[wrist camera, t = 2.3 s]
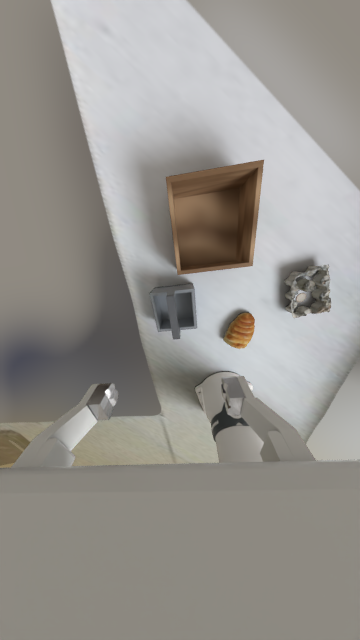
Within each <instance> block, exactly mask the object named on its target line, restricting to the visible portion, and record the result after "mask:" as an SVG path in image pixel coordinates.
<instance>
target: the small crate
mask: <svg viewBox="0 0 360 640" xmlns="http://www.w3.org/2000/svg"><path fill="white" fill-rule="evenodd" d="M150 298H151V303H152V307H153V312H154V316H155V321H156V325H157V330H158V332H162V331H172V335H173V339H180V330H184V329H195V328H197V319H196V305H195V291H194V286H193V283H192V284H184V285H175V286H166V287H158V288H154V289H153V290H152V291H151V292H150Z"/></svg>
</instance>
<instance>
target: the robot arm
mask: <svg viewBox="0 0 360 640" xmlns="http://www.w3.org/2000/svg"><path fill="white" fill-rule="evenodd" d="M252 389H253V386H252V384H251V383H249V382H247V381H246V379H245V377H244V376H239V375H238V374H235V373H231V372H220V373H216V374H213V375H211V376H209V377H208V378H207V379H205V381H204V382H203V383H202V384H200V385H198V386H196V387H195V391H196V394H197V396H198V398H199V401H200V403H201V406H202V408H203V411H204V413H205V414H206V415H207V418H208V419H209V421H210V423H211V428H212V434H213V438H214V441H215V442H216V446H217V452H218V458H219V463H189V464H146V465H103V466H72V464H73V462H74V459H75V455H74V454H73V453H72V452H71V450H72V449H73V448H74V447H75V446H76V445H77V443H78V442H79V441H80V440H81V439H82V438H83V437H84V436H85V435H86V433H87V432H88V431H89V430H90V429H91V428H92V427H93V426H94V425H95V424H96V422H97V421H98V420H109V419H110V417H111V414H112V412H113V406H114V405H115V404H116V402H117V400H118V391H117V390H116V389H115V385H114V384H113V383H110V384H93V385H91V387H90V388H89V390H88V391H87V393H86V394H85V396H84V397H83V398H82V400H81V402H80V403H79V405H78V406H75V407H74V408H72V409H71V410H70V411H69V412H67V413H66V414H65V415H63V416H62V417H61V418H59V419H58V420H57V421H56V422H54V423H53V424H52V425H50V426H49V427H48V428H46V429H45V430H44V431H43V432H41V433H40V434H39V435H37V436H36V437H35V438H34V439H33V440H32V441H31V443H30V444H29V445H28V447H27V448H26V449H25V450H24V452H23V453H22V454H21V456H20V457H19V458H18V459H17V461H16V462H15V463H14V465H13V466H12V467H11V468H0V640H360V460H320V461H316V460H315V458H314V457H313V455H312V453H311V452H310V450H309V449H308V447H307V446H306V444H305V442H304V441H303V439H302V438H301V436H300V435H299V433H298V431H297V430H296V429H295V428H294V427H293V426H291V425H290V424H289V423H288V422H286V421H285V420H284V419H283V418H281V417H280V416H279V415H278V414H277V413H275V412H274V411H273V410H272V409H270V408H269V407H268V406H267V405H265V404H264V403H263V402H262V401H260V400H259V399H258V398H255V397H254V395H253V393H252Z"/></svg>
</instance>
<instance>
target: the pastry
mask: <svg viewBox="0 0 360 640" xmlns="http://www.w3.org/2000/svg"><path fill="white" fill-rule="evenodd" d="M254 321H255V319H254V317H253V316H252V314H250V313H242V314H239V315H238V316H237V318H236V319H235V320H234V321H233V322H231V323H230V325H229V327H228V329H227V331H226V333H225V336H224V339H223V340H224V341H225V342H226V343H227V344H229V345H230V346H232V347H235V348H239V349H240V348H245V347H246V346H247V344H248V343H249V341H250V340H251V338H252V335H253V332H254V327H255V326H254Z"/></svg>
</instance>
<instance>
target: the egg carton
mask: <svg viewBox="0 0 360 640" xmlns="http://www.w3.org/2000/svg"><path fill="white" fill-rule="evenodd" d="M328 268H329V264H328V265H322V266H313V265H312V266H309V267H307V270H306V271H305V272H303V273H302V272H297V271H294V272H291V273H290V276H289V277H288V278H287V279H286V280H285V284H287V285H290V291H289V292H288V293H286V294H285V298H287V299H290V300H291V302H290V304H289V305H288V306H286V311H288V312H290V313H292V316H293V318H298V317H300V316H306V315H307V314H309V313H314V314H317V313H322V312H327V311H328V312H329V311H330V308H331V305H330V304H331V299H330V298H329V293H330V290H329V283H330V277H329V271H328ZM317 270H318V274H316V275H315V276H314V277H313V279H312V280H307V279H300V280H299V281H298V282H296V280H295V279H296V278H297V277H300V276H309V277H310V276H313V274H314V273H316V271H317ZM315 284H316V285H317V288H316V287H315ZM295 285H296V286H295ZM299 290H303V291H306V292H311V291H313V292H312V294H311V295H312V297H313V298H316V301H315V302H314V303H313V304H312V305H311V307H310V308H307V307H305V306H300V307H298V308H297V309H296V312H293V311H294V309H295V308H296V307H297V303H298V302H303V301H304V300H305V299H306V294H305V293H300V294H299V295H298V296H297V297H296V301H295V300H294V298H295V295H297V294H298V291H299ZM292 297H293V298H292Z"/></svg>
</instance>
